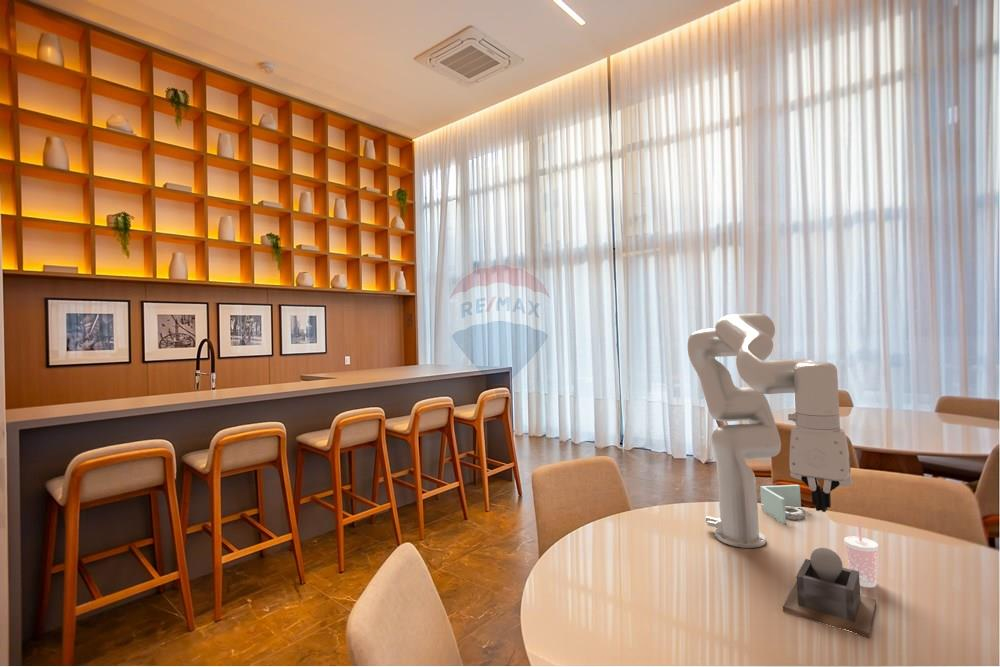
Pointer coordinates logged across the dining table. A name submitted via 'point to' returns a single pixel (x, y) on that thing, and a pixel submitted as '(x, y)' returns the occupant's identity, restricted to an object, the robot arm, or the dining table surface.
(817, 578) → the socket block
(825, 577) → the light bulb
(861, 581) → the beverage cup
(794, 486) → the l-shaped corner panel
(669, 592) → the dining table surface
